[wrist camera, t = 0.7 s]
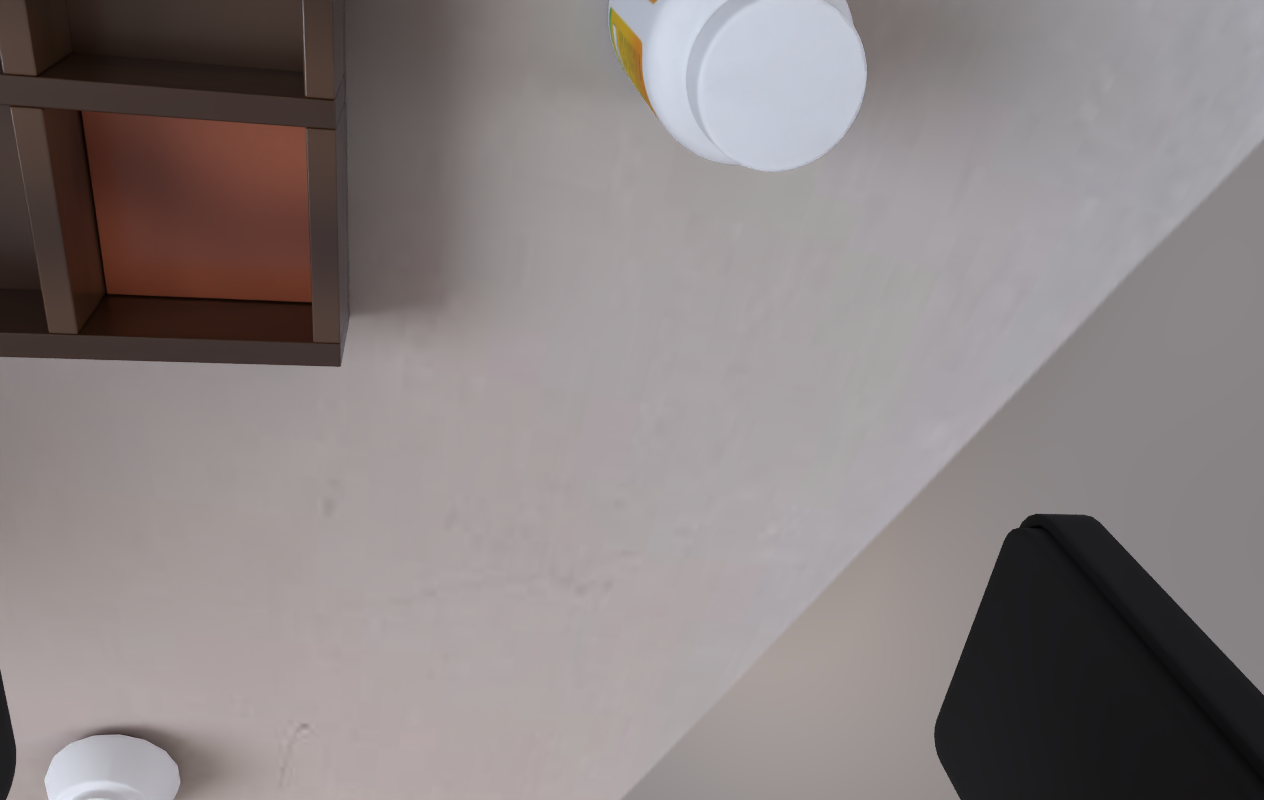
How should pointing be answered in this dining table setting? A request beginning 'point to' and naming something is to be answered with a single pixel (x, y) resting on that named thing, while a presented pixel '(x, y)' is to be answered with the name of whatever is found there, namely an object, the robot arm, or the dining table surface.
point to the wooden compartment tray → (174, 181)
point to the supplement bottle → (745, 74)
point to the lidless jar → (112, 770)
